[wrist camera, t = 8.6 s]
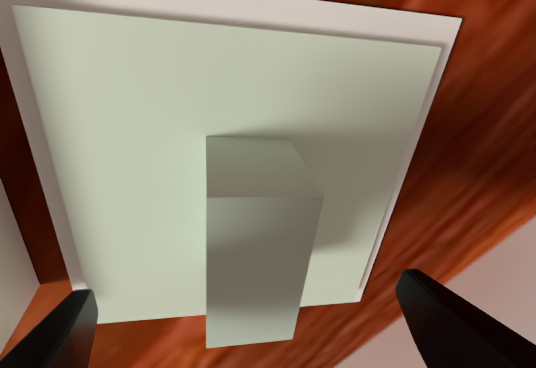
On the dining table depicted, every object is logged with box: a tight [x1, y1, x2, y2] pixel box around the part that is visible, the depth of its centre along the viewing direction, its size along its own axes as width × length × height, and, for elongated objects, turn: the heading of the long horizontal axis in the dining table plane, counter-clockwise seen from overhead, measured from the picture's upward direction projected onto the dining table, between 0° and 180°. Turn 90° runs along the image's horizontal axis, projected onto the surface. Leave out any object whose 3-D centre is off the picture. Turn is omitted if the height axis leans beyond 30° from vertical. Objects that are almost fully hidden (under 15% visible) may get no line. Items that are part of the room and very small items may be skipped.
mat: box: [0, 0, 462, 304], centre depth 14 cm, size 15×15×1 cm
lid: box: [11, 4, 442, 348], centre depth 11 cm, size 13×13×5 cm
